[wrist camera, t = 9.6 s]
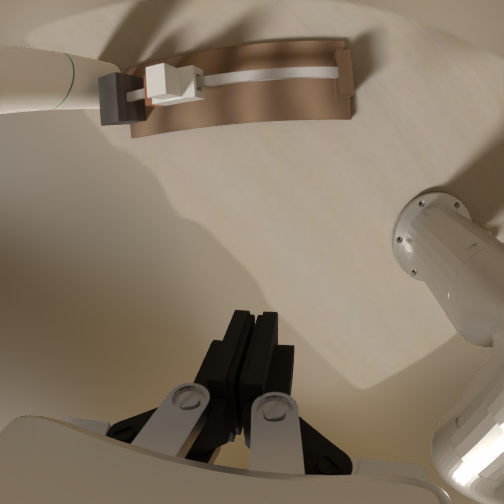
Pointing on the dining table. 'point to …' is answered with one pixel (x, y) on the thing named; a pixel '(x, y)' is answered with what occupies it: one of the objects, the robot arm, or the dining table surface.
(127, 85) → the rail
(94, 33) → the dining table surface
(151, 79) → the sleeve
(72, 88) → the cylindrical container
